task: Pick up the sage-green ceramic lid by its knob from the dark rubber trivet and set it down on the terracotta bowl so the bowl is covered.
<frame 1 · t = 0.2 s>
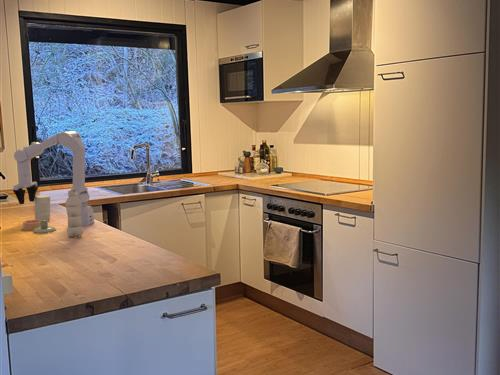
hand: (26, 202, 252), 10 cm above the countertop, tool pointing down, fingers open, 7 cm apart
plastic bottle: (75, 237, 224), on the countertop
trivet: (44, 232, 234), on the countertop
skincare box: (42, 220, 260), on the countertop, touching gripper
bowl: (33, 228, 241), on the countertop
lid: (44, 230, 234), resting on trivet
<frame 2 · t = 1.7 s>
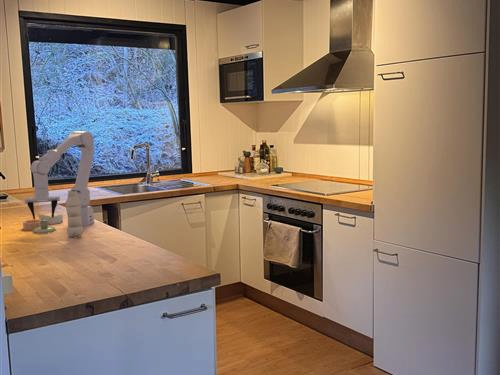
hand: (43, 218, 233), 6 cm above the countertop, tool pointing down, fingers open, 7 cm apart
skincare box: (43, 216, 258), point 2 cm above the countertop
everything else where it was.
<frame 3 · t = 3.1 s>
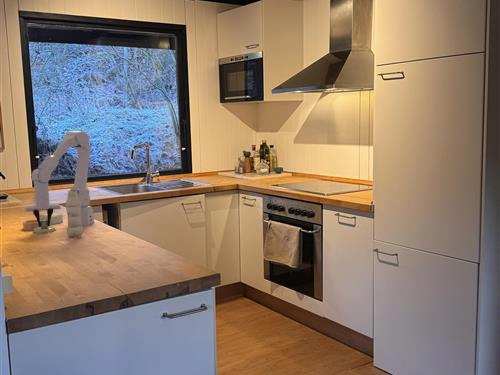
hand: (44, 226, 234), 3 cm above the countertop, tool pointing down, fingers closed on lid, 3 cm apart
lid: (44, 230, 234), resting on trivet, touching gripper
everything else where it was.
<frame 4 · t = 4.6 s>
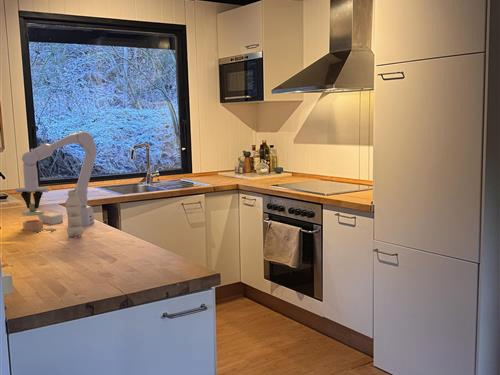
hand: (33, 208, 238), 10 cm above the countertop, tool pointing down, fingers closed on lid, 3 cm apart
lid: (33, 214, 238), point 7 cm above the countertop, touching gripper
everything else where it was.
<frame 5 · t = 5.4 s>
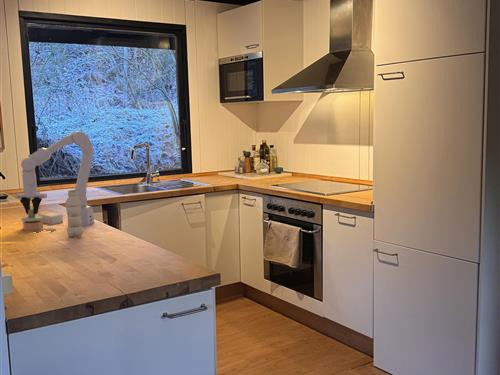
hand: (32, 213, 240), 7 cm above the countertop, tool pointing down, fingers closed on lid, 3 cm apart
lid: (32, 220, 240), point 4 cm above the countertop, touching gripper
everything else where it was.
when the fingers open (7 cm above the countertop, at t = 5.9 s): lid stays where it is, resting on bowl.
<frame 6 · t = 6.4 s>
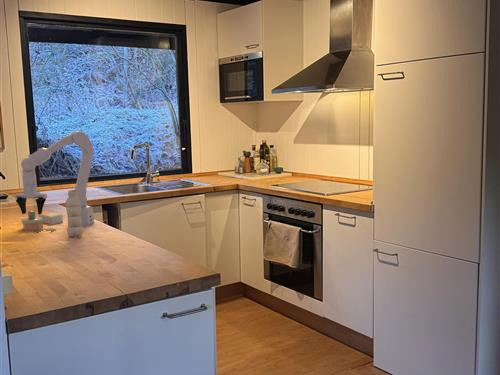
hand: (32, 213, 240), 7 cm above the countertop, tool pointing down, fingers open, 7 cm apart
lid: (32, 221, 240), point 3 cm above the countertop, touching bowl
everything else where it was.
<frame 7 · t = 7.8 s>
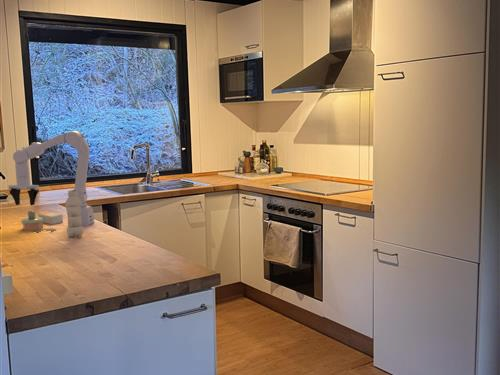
hand: (25, 204, 244), 10 cm above the countertop, tool pointing down, fingers open, 7 cm apart
nothing on the countertop moved.
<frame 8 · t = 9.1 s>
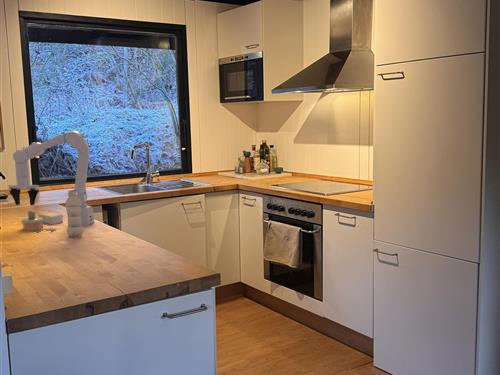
hand: (25, 204, 244), 10 cm above the countertop, tool pointing down, fingers open, 7 cm apart
nothing on the countertop moved.
at the end: lid 0.4 cm off-centre on the bowl, point 3.5 cm above the bowl's base; lid tilted 0°; the gripper is holding nothing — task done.
